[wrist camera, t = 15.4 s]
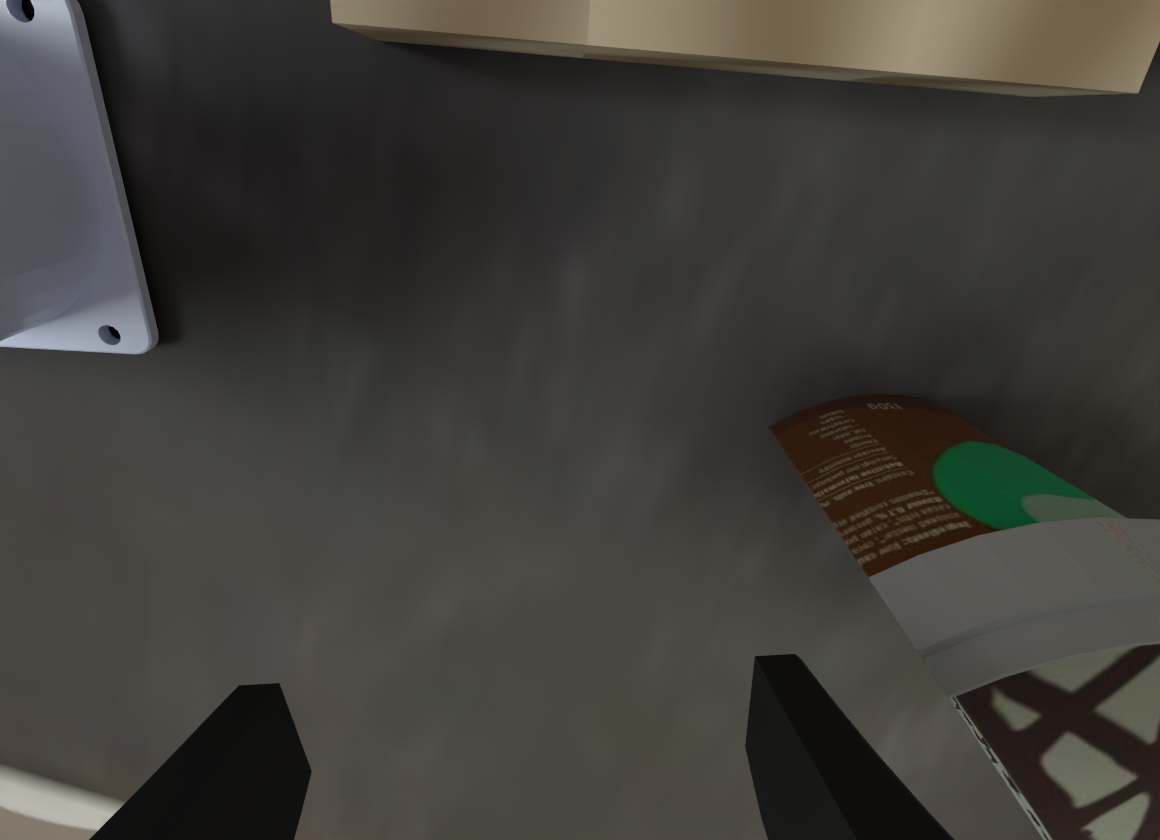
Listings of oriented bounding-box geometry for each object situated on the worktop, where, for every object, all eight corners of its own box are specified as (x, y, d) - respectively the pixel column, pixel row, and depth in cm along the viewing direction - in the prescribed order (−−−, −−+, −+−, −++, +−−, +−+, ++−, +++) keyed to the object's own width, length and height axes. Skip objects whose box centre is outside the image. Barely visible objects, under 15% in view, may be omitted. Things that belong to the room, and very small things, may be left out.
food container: (1085, 560, 21) (1484, 900, 12) (912, 643, 22) (1151, 1002, 13) (949, 259, 16) (1433, 441, 7) (742, 390, 18) (932, 676, 9)
